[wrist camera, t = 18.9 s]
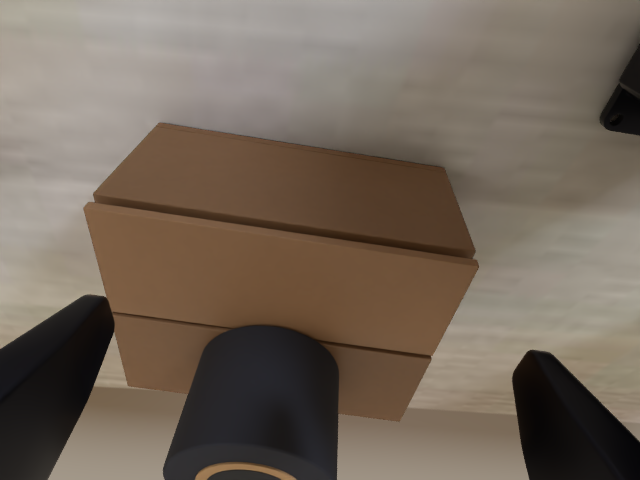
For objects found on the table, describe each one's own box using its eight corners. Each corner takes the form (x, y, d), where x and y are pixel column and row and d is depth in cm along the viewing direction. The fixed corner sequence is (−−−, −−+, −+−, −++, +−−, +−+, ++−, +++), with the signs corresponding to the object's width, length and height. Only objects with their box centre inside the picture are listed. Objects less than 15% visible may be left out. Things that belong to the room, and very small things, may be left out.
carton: (175, 285, 27) (126, 387, 21) (158, 122, 20) (80, 205, 14) (389, 315, 27) (400, 422, 21) (444, 167, 20) (482, 265, 15)
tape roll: (350, 335, 17) (351, 461, 13) (327, 415, 21) (322, 530, 17) (198, 315, 17) (151, 436, 13) (203, 398, 21) (168, 512, 17)
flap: (114, 304, 18) (110, 311, 17) (88, 201, 14) (82, 207, 14) (431, 348, 18) (432, 356, 18) (477, 259, 15) (479, 266, 15)
